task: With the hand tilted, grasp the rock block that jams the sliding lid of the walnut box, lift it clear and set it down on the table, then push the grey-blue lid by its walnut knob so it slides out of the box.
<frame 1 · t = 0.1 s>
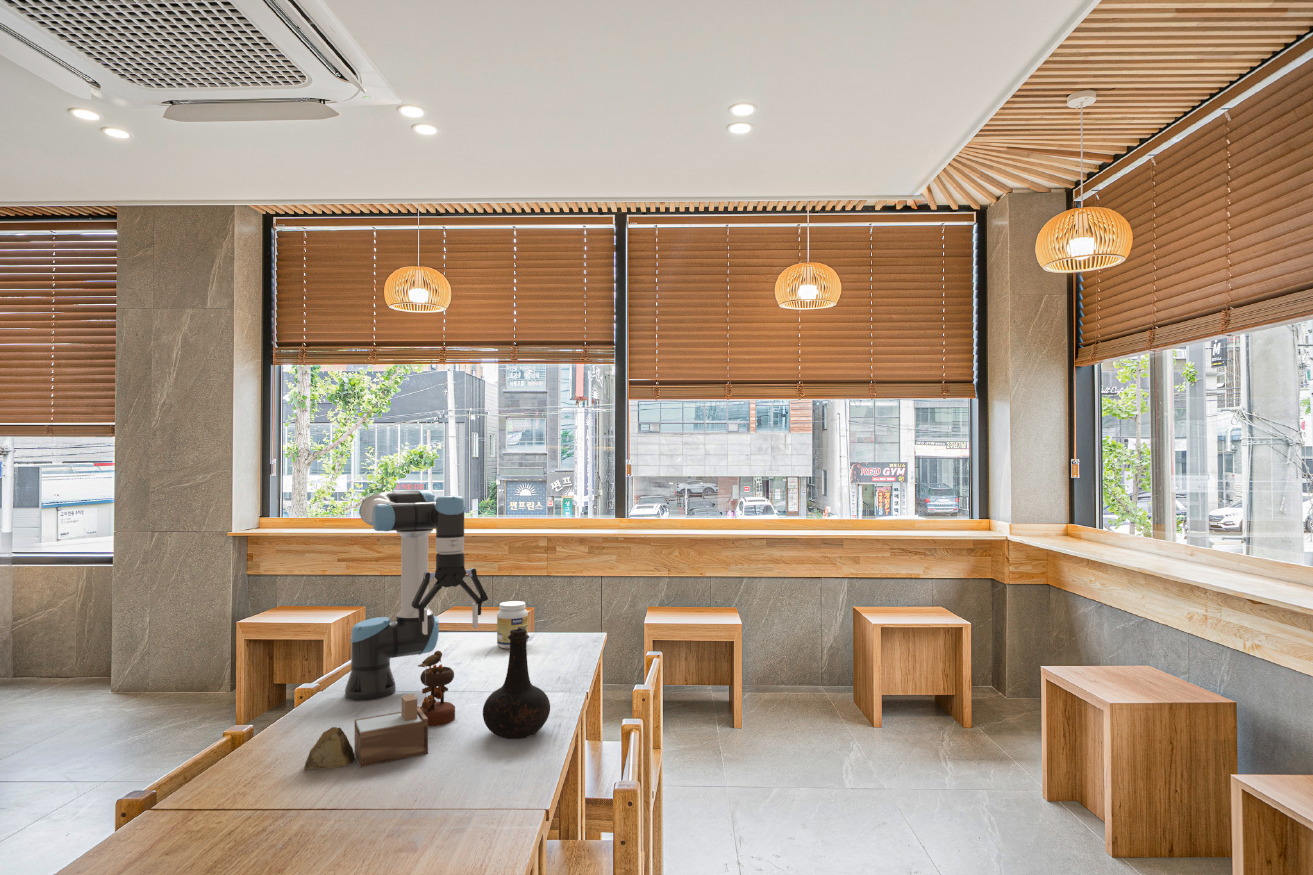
hand: (450, 630, 199), 28 cm above the table, tool pointing down, fingers open, 13 cm apart
lid: (389, 712, 186), point 10 cm above the table, slide at 0.0 cm
rock: (329, 766, 179), on the table
wooden bird figurine: (437, 719, 210), on the table
box: (391, 752, 186), on the table
glass bottle: (517, 734, 198), on the table
supplement tub: (512, 646, 294), on the table
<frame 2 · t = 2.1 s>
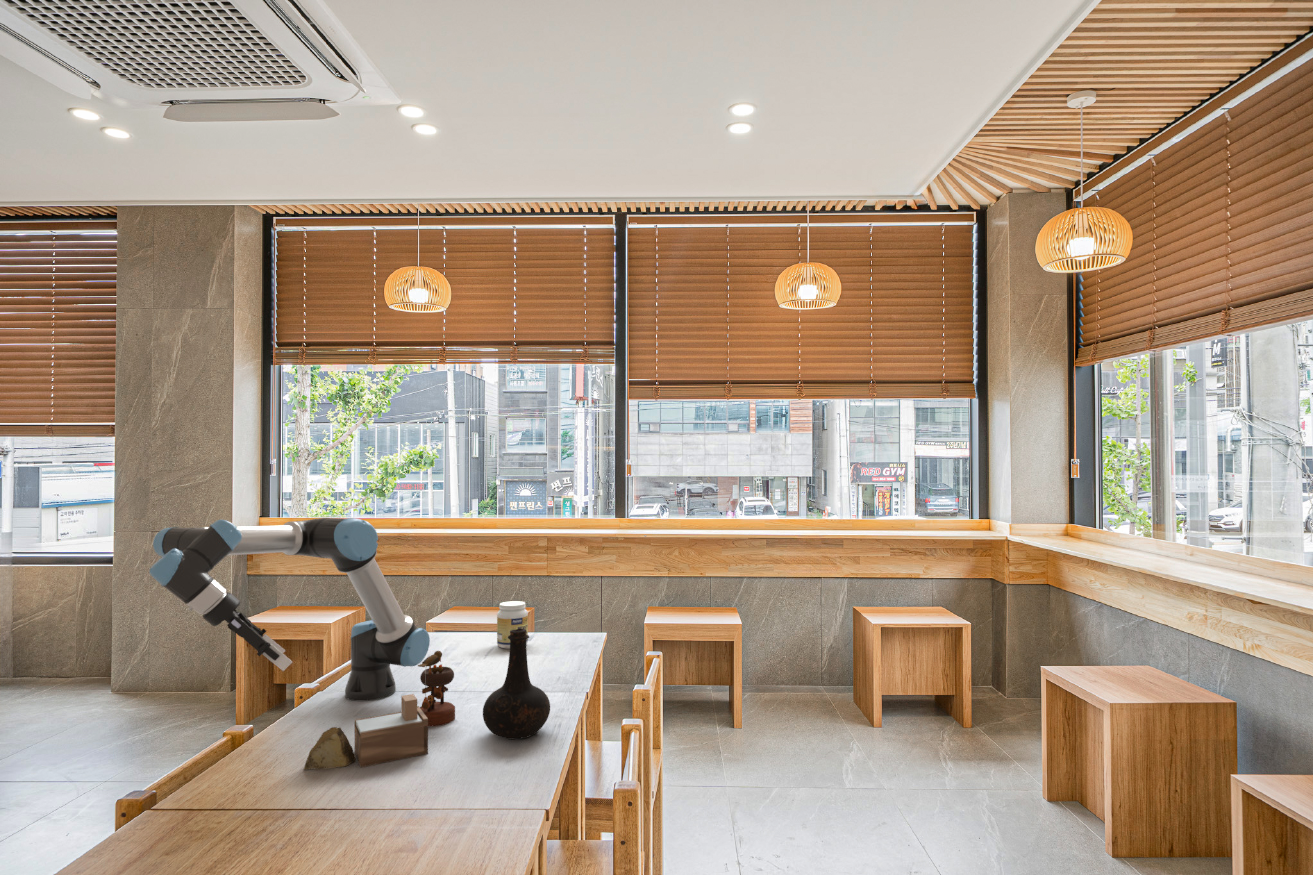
hand: (284, 660, 177), 26 cm above the table, tool tilted 45°, fingers open, 13 cm apart
nothing on the table moved.
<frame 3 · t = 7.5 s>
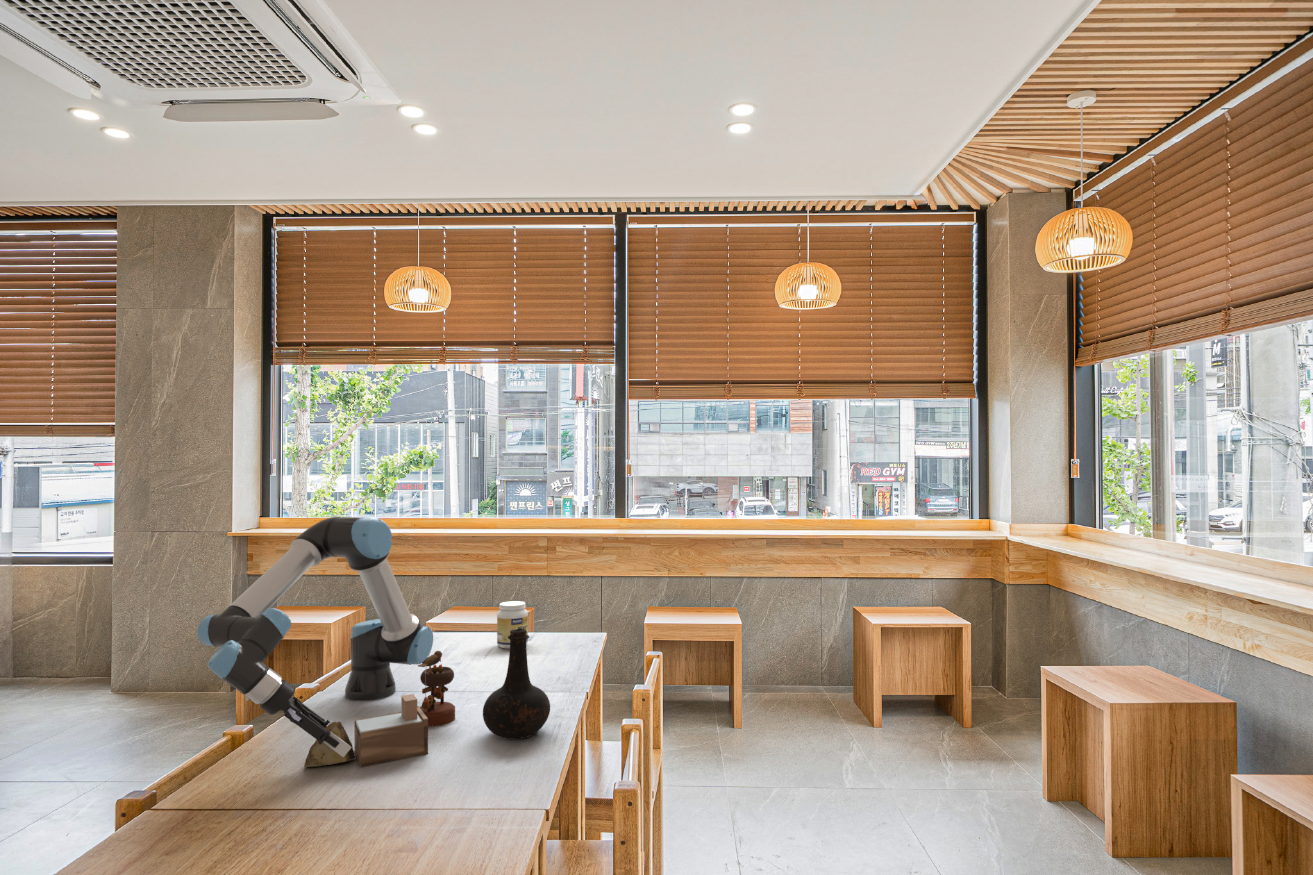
hand: (345, 748, 180), 3 cm above the table, tool tilted 45°, fingers closed on rock, 5 cm apart
rock: (328, 764, 179), on the table, touching gripper
everything else where it was.
when the fingers open (4 cm above the table, at t = 12.4 s): rock stays where it is, on the table.
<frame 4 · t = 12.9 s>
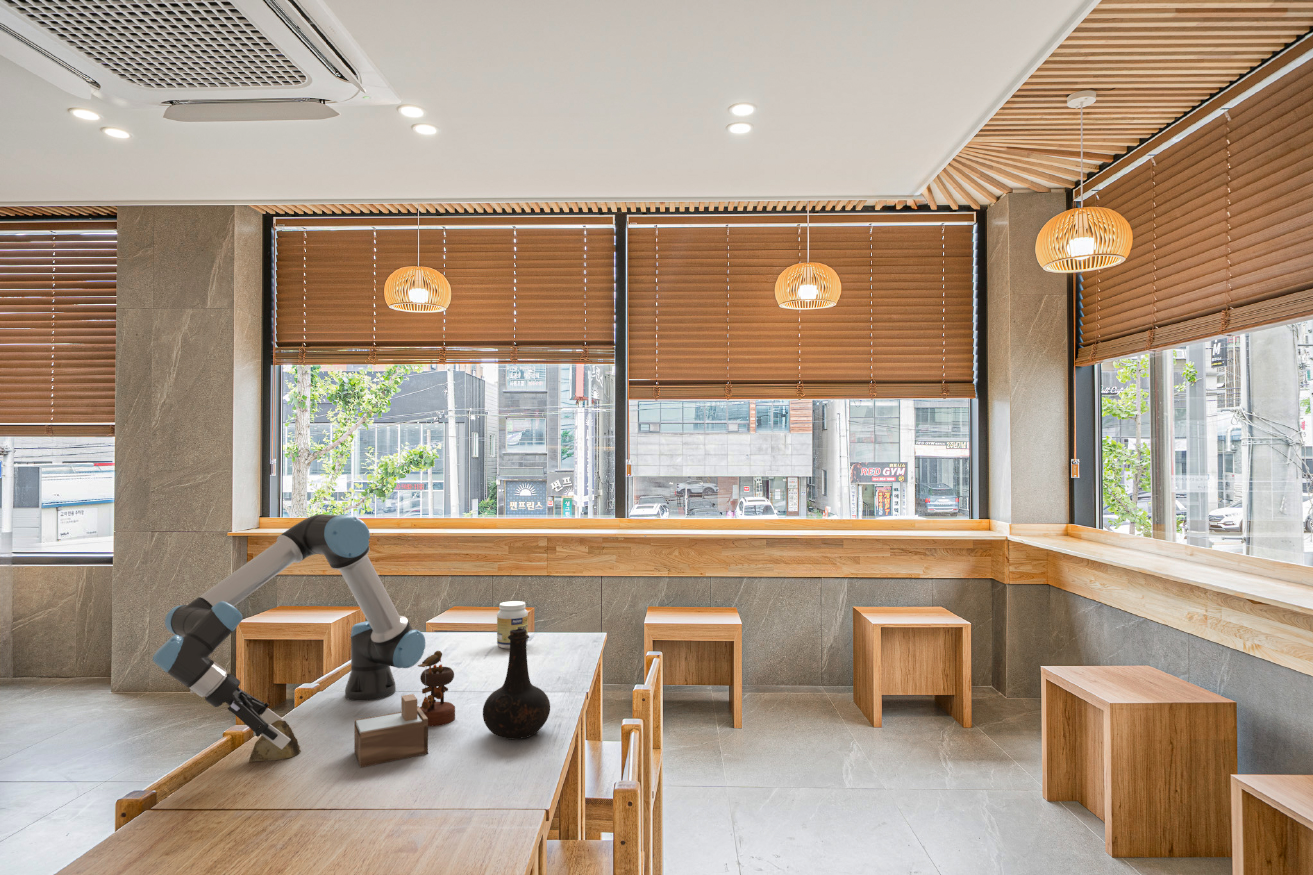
hand: (284, 735, 185), 5 cm above the table, tool tilted 45°, fingers open, 13 cm apart
rock: (274, 758, 184), on the table
everything else where it was.
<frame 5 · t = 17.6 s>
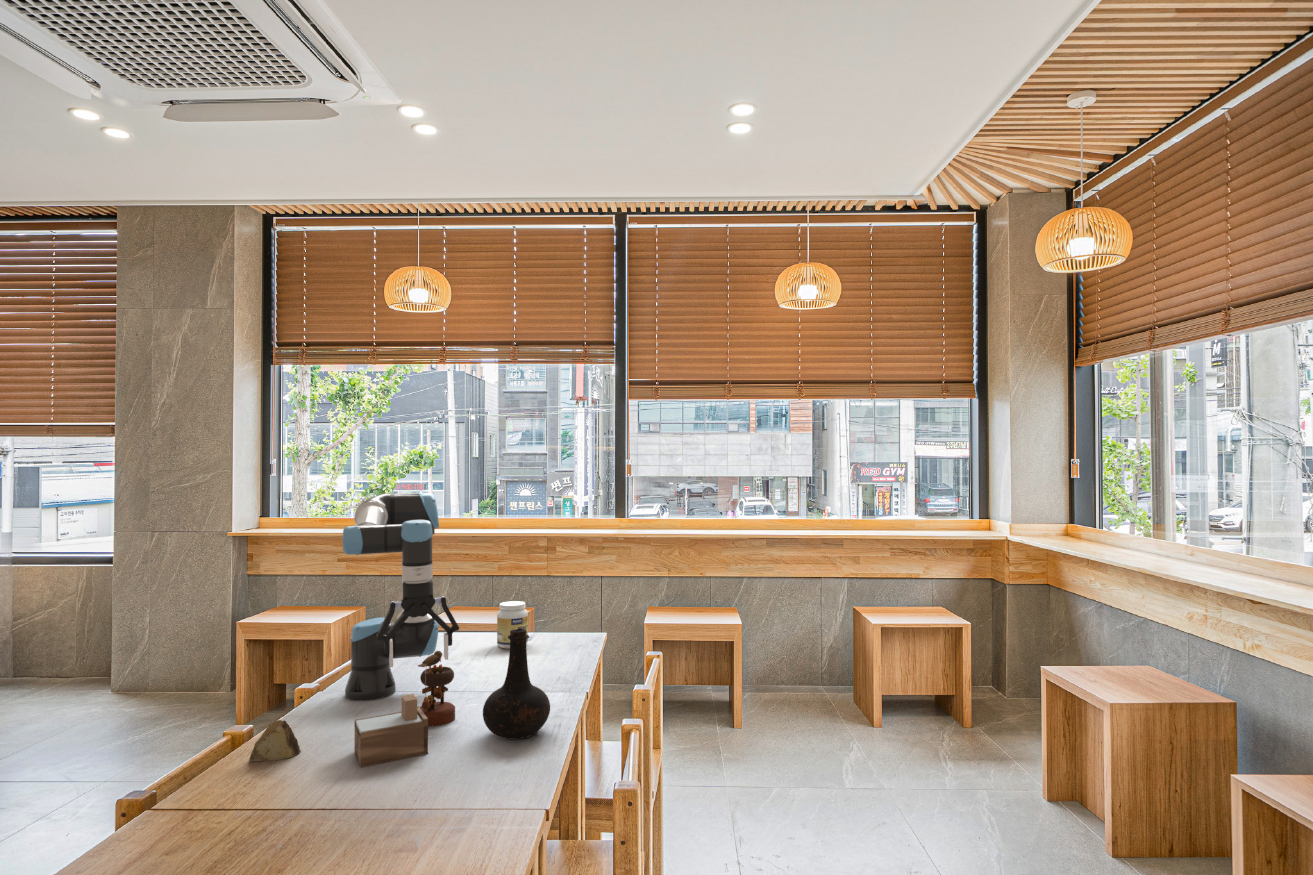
hand: (419, 661, 189), 22 cm above the table, tool pointing down, fingers open, 13 cm apart
nothing on the table moved.
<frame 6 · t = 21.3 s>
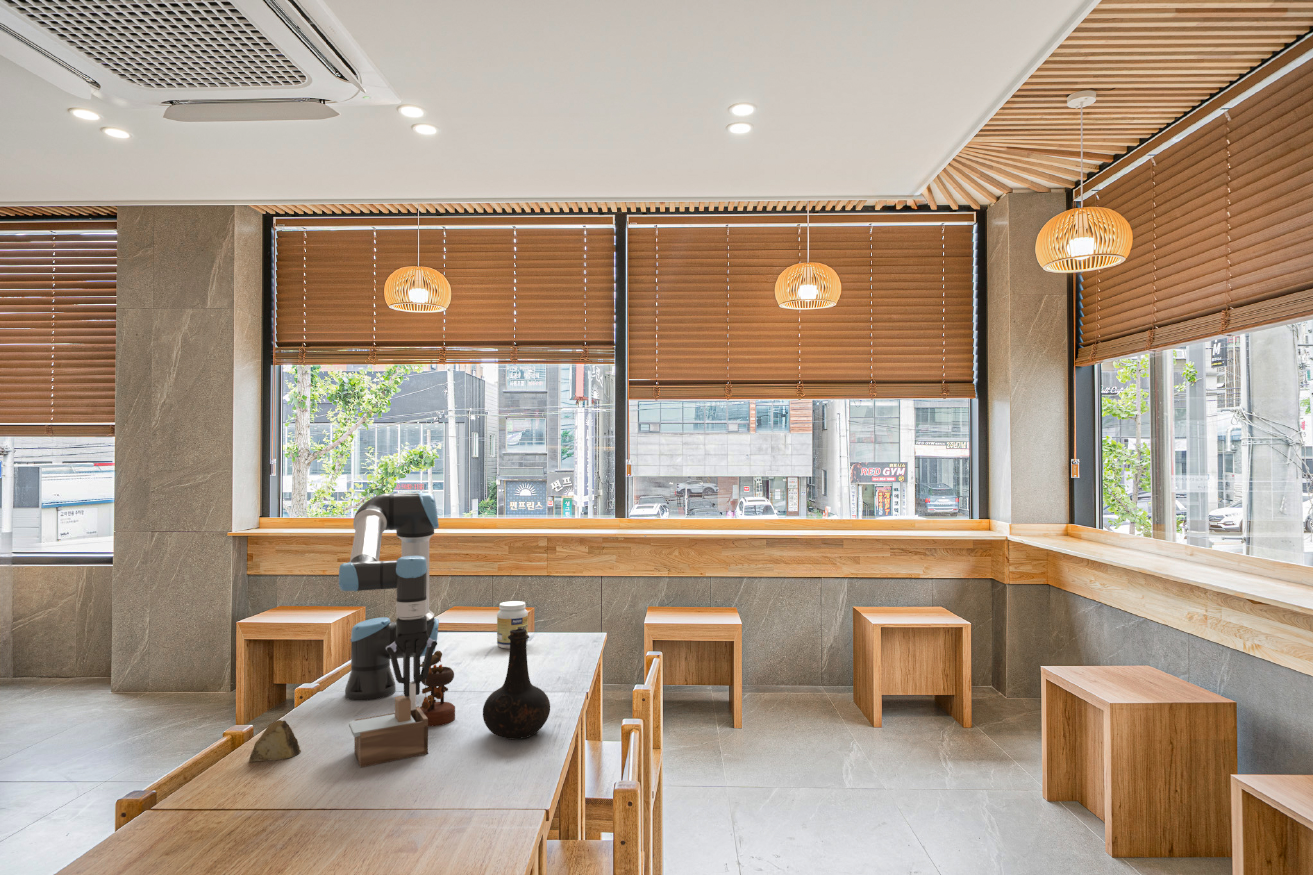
hand: (411, 708, 189), 10 cm above the table, tool pointing down, fingers closed
lid: (382, 713, 185), point 10 cm above the table, slide at 1.6 cm, touching gripper
everything else where it was.
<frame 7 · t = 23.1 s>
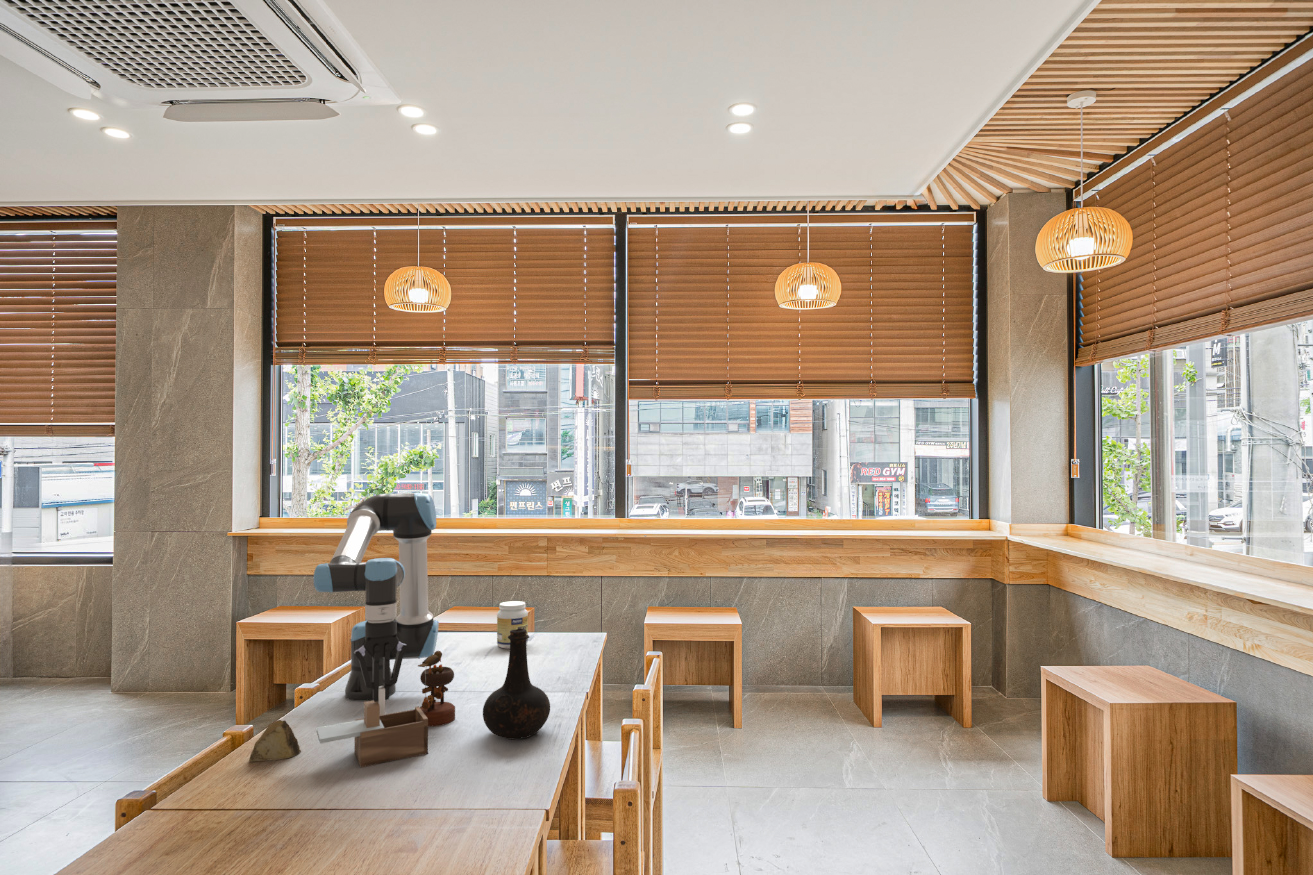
hand: (381, 713, 185), 10 cm above the table, tool pointing down, fingers closed
lid: (350, 719, 181), point 10 cm above the table, slide at 9.2 cm, touching gripper
everything else where it was.
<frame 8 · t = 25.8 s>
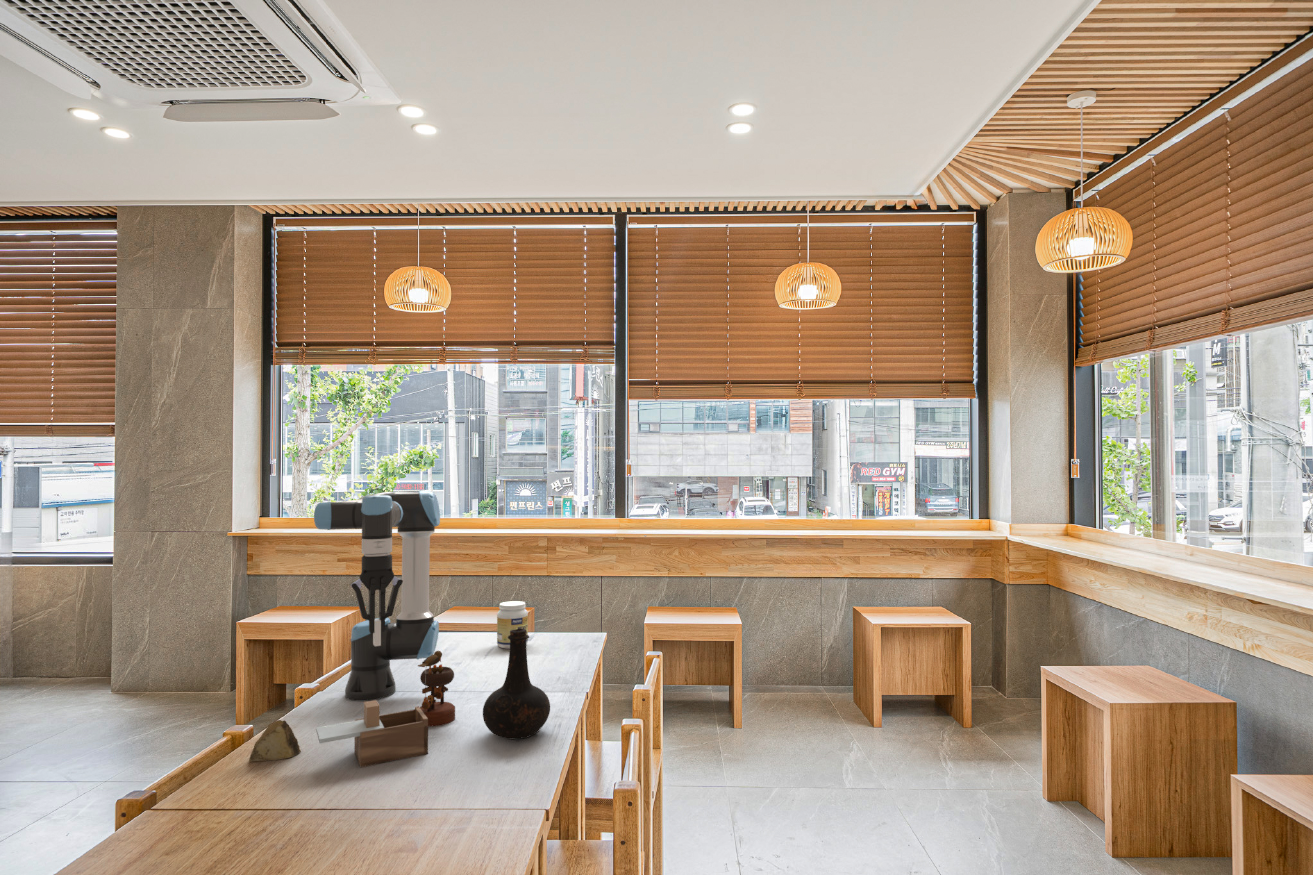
hand: (376, 644, 191), 26 cm above the table, tool pointing down, fingers closed
lid: (350, 719, 181), point 10 cm above the table, slide at 9.2 cm
everything else where it was.
at the end: lid slide at 9.2 cm; rock inside the target area (1.0 cm from its centre), on the table; the gripper is holding nothing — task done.
